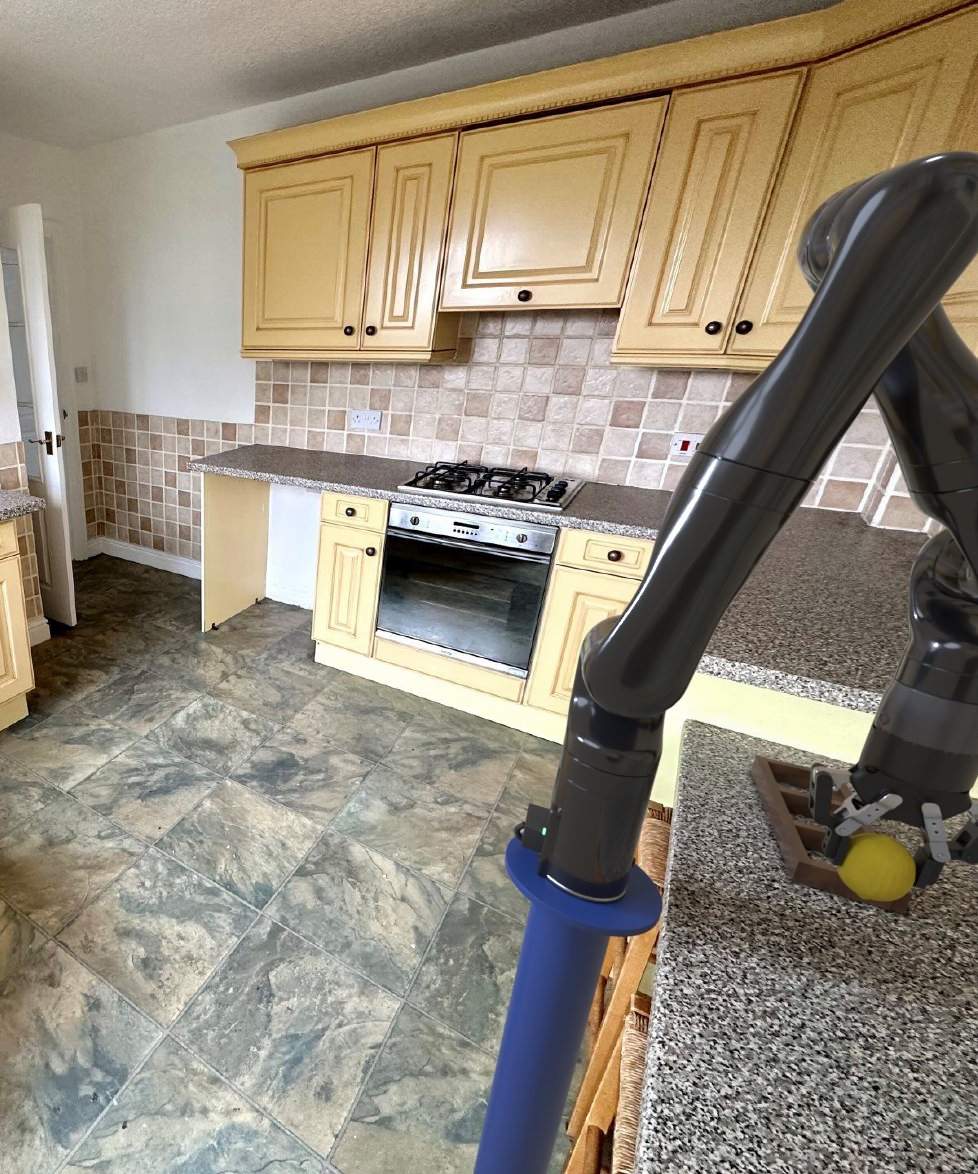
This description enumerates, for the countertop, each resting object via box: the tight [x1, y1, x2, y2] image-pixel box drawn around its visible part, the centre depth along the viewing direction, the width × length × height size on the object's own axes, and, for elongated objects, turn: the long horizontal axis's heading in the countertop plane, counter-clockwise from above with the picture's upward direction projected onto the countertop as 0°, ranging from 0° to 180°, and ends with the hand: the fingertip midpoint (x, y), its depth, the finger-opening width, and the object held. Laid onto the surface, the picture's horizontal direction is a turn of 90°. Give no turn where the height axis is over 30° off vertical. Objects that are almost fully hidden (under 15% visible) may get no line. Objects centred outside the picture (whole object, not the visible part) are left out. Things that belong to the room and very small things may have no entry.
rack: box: [750, 754, 914, 915], centre depth 86 cm, size 10×27×3 cm, turn 148°
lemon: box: [836, 832, 916, 901], centre depth 66 cm, size 6×6×8 cm
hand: (872, 870), depth 66 cm, fingers closed on lemon, 5 cm apart
